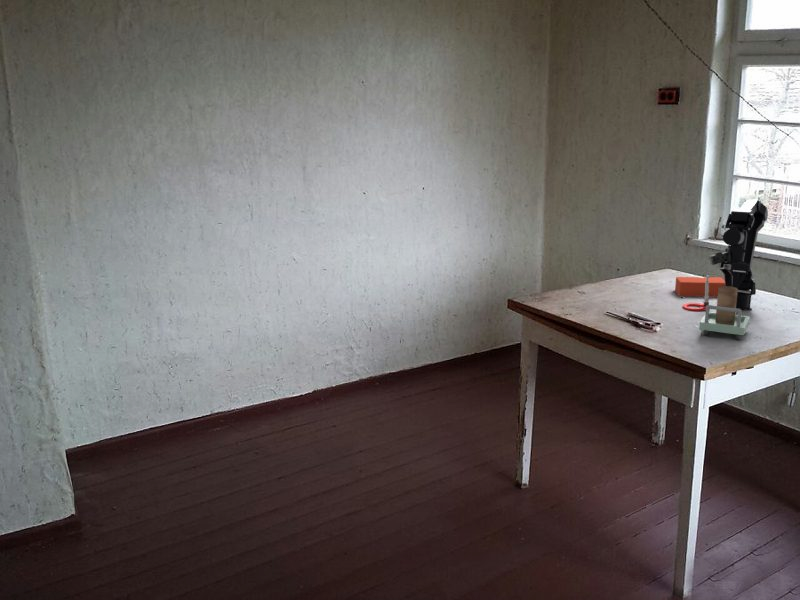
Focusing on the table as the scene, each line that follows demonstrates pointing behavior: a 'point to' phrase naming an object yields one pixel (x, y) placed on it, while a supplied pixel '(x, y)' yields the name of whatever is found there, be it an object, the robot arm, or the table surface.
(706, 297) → the tow hook
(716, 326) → the parts cart
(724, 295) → the brown cylinder
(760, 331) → the table surface
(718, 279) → the brick
